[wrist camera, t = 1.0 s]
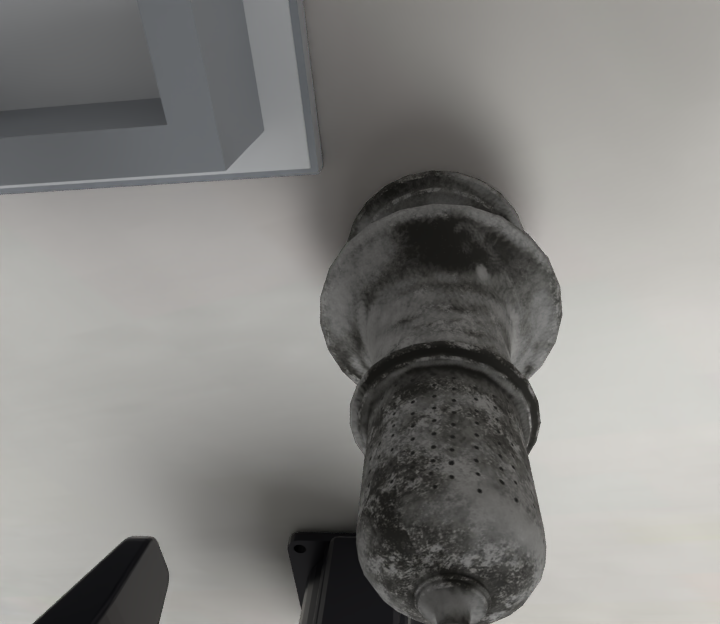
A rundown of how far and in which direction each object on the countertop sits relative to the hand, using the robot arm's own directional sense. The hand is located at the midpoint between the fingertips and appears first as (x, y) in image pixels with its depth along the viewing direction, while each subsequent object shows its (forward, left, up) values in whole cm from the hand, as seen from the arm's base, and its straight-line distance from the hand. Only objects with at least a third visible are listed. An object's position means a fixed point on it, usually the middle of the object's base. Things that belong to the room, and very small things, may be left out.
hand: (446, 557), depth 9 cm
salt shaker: (0, 0, -11) cm, 11 cm away
